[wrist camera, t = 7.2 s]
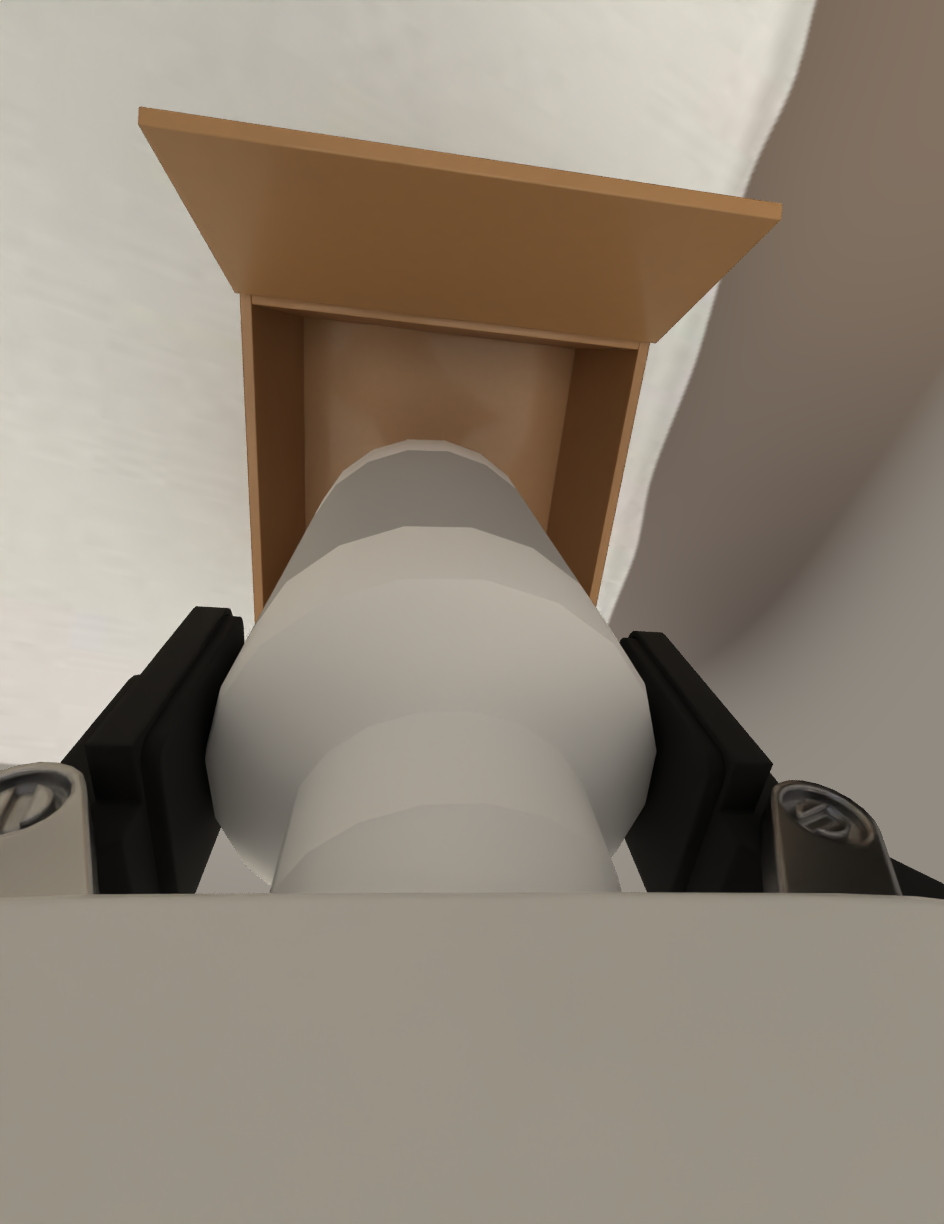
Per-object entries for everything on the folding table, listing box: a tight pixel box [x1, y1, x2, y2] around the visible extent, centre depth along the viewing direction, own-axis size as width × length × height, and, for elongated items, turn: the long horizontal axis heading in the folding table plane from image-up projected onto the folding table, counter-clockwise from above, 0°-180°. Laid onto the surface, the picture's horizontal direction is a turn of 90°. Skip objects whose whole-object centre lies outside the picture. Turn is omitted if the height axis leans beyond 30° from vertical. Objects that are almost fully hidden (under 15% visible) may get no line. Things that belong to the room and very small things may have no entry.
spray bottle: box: [205, 439, 657, 893], centre depth 11 cm, size 7×7×18 cm
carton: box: [240, 294, 650, 623], centre depth 29 cm, size 15×15×10 cm
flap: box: [138, 107, 782, 343], centre depth 17 cm, size 7×15×1 cm
